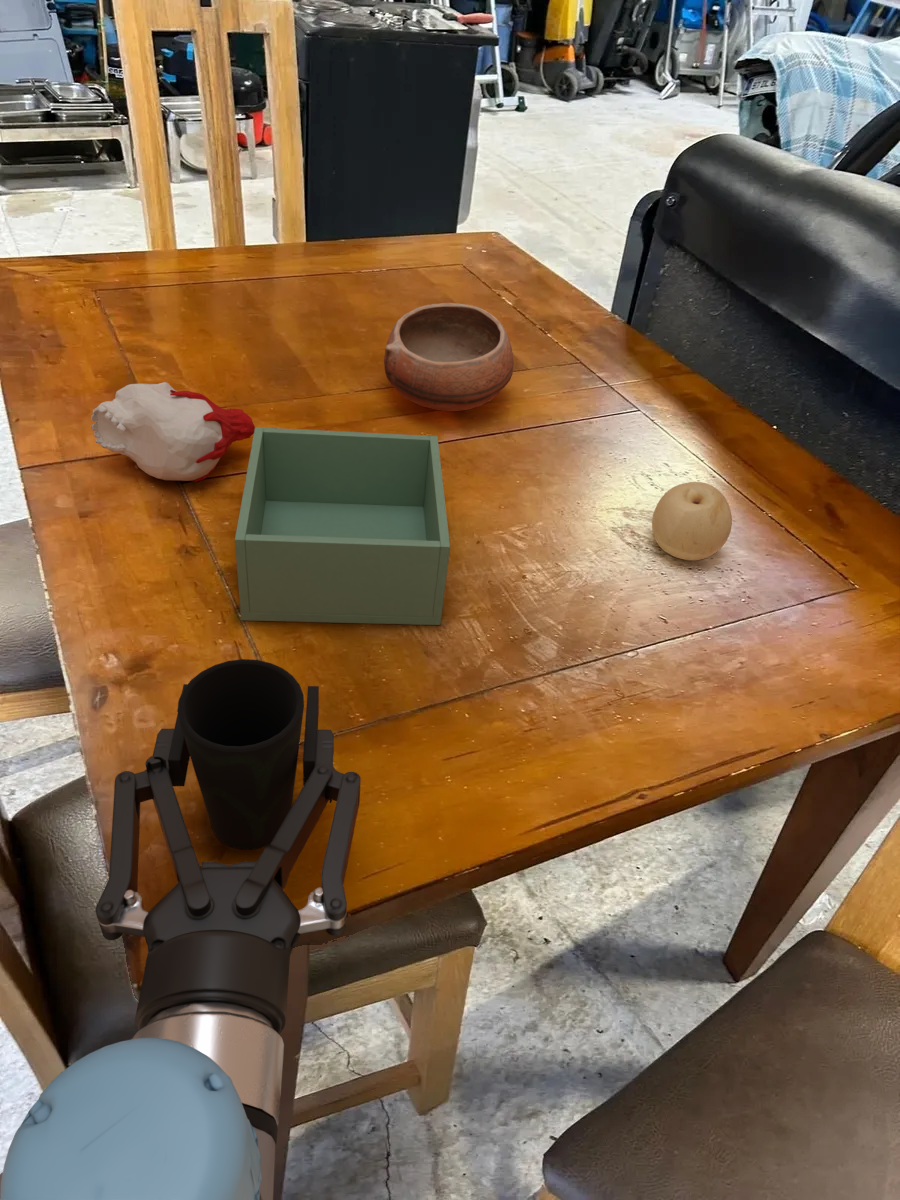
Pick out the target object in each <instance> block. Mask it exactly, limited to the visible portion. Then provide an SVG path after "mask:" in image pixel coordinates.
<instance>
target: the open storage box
mask: <svg viewBox="0 0 900 1200" xmlns="http://www.w3.org/2000/svg"><path fill="white" fill-rule="evenodd" d="M440 454H441V453H440V445H439V437H438V435H425V434H424V435H423V434H422V435H421V434H404V433H403V434H401V433H383V432H381V433H380V432H361V431H360V432H359V431H342V430H341V431H340V430H322V429H321V430H320V429H301V428H282V427H281V428H279V427H259V426H255V430H254V434H253V435H252V442H251V447H250V453H249V458H248V464H247V470H246V474H245V475H246V476H245V480H244V485H243V492H242V497H241V503H240V508H239V514H238V520H237V525H236V531H235V535H234V546H235V548H234V549H235V558H236V559H235V560H236V571H237V572H236V573H237V574H236V575H237V586H238V587H237V588H238V598H239V600H238V601H239V611H240V612H239V613H240V621H245V622H247V621H249V622H288V623H289V622H291V623H294V622H295V623H333V624H336V623H337V624H372V625H373V624H375V625H379V624H380V625H415V626H416V625H419V626H441V624H442V616H443V607H444V600H445V592H446V584H447V576H448V568H449V559H450V551H451V541H450V533H449V524H448V516H447V507H446V497H445V490H444V489H445V488H444V480H443V473H442V472H443V471H442V464H441V463H442V461H441V455H440Z"/></svg>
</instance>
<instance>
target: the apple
mask: <svg viewBox="0 0 900 1200" xmlns="http://www.w3.org/2000/svg"><path fill="white" fill-rule="evenodd" d="M732 526H733V516H732V511H731V507H730V505H729V502H728V500H727V498H726V497H725V495H724V494H723V493H722V492H721V491H720V490H719V489H718V488H716V487H715V486H713V485H712V484H709V483H706V482H701V481H691V482H683V483H680V484H678V485H677V484H676V485H675V486H673V487H671V488H670V489H668V490H667V491H666V492H665V493H664V494H663V495H662V496H661V497H660V499H659V500H658V502H657V504H656V506H655V508H654V511H653V513H652V519H651V530H652V534H653V537H654V540H655V541H656V543H657V545H658V547H660V549H662V551H664V553H666V554H668V555H670V556H672V557H673V558H677V559H680V560H684V561H698V560H699V561H700V560H704V559H707V558H709V557H711V556H712V555H715V554H716V553H717V552H718V551H720V550H721V548H723V546H725V544H726V543H727V541H728V539H729V537H730V534H731V531H732Z"/></svg>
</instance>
